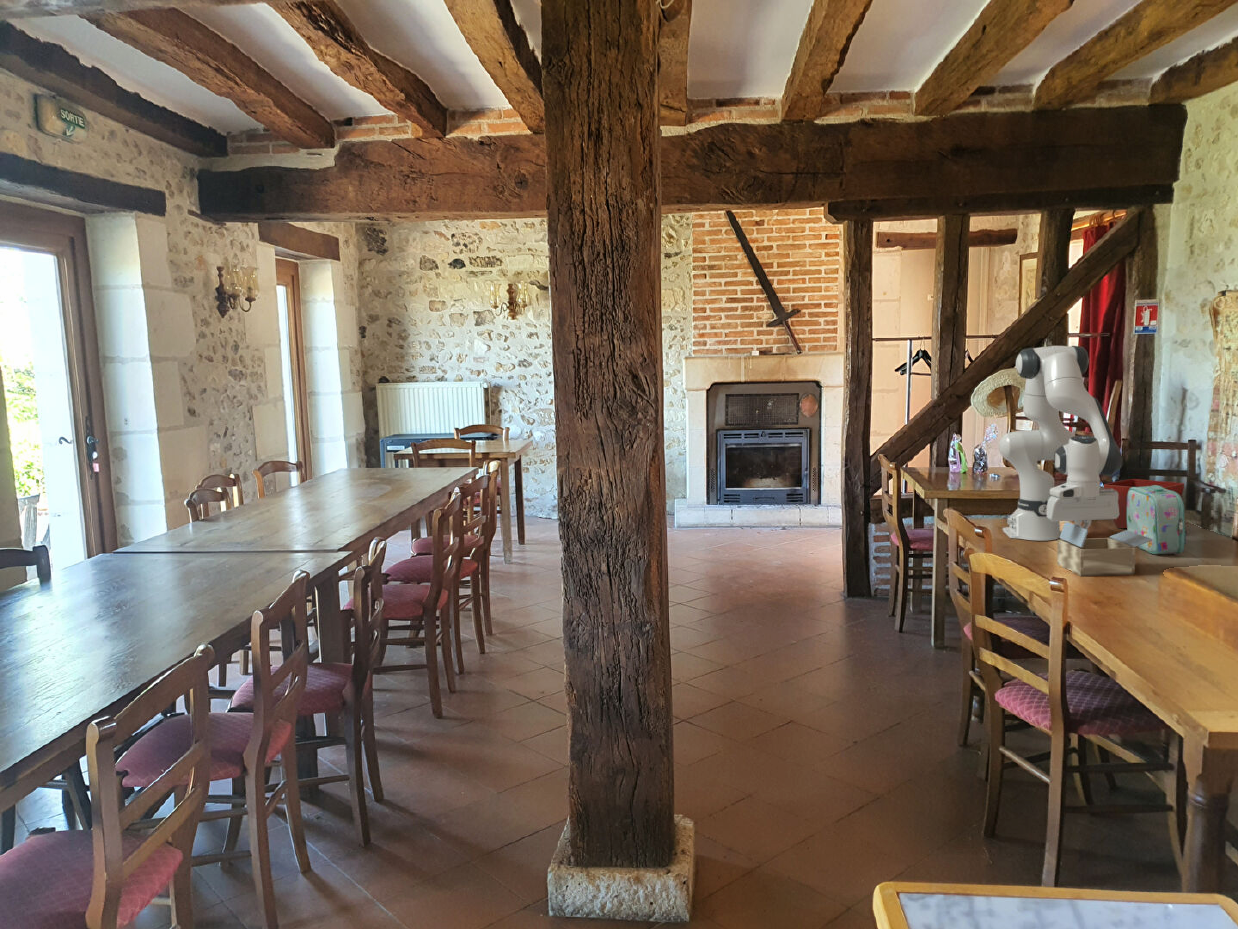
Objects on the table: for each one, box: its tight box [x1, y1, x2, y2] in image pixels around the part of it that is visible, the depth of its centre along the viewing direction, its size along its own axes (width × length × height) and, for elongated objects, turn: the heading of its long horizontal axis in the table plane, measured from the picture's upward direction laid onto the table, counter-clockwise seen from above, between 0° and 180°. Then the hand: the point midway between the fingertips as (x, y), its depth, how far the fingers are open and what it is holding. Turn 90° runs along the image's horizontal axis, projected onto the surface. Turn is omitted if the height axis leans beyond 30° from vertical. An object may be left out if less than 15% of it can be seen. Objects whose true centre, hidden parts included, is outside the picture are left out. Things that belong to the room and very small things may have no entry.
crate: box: [1056, 537, 1136, 577], centre depth 254 cm, size 15×16×8 cm
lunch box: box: [1126, 485, 1187, 555], centre depth 274 cm, size 27×10×21 cm, turn 168°
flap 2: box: [1109, 529, 1153, 548], centre depth 253 cm, size 14×1×6 cm
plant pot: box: [1103, 478, 1185, 529], centre depth 306 cm, size 19×19×17 cm
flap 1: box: [1059, 521, 1090, 548], centre depth 253 cm, size 14×1×6 cm, turn 177°
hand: (1082, 534), depth 253 cm, fingers closed
